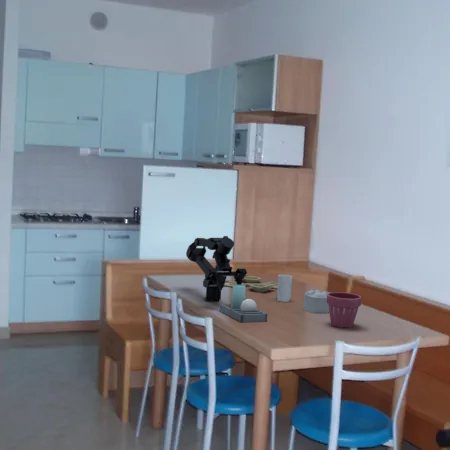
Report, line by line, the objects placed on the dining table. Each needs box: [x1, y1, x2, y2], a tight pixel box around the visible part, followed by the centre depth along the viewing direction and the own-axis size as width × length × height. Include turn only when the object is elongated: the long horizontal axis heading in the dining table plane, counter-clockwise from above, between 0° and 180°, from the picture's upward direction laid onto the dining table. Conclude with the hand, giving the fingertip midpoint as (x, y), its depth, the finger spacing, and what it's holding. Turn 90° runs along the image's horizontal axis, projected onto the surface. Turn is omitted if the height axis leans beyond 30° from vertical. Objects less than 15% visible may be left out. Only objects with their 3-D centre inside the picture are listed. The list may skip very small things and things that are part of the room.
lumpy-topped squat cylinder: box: [303, 289, 329, 314], centre depth 320 cm, size 10×13×9 cm
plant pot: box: [327, 291, 362, 328], centre depth 293 cm, size 14×14×13 cm
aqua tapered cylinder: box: [230, 284, 247, 309], centre depth 302 cm, size 6×6×12 cm
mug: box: [276, 274, 293, 303], centre depth 338 cm, size 10×7×12 cm, turn 15°
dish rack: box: [219, 303, 268, 323], centre depth 298 cm, size 21×12×3 cm, turn 25°
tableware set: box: [224, 273, 278, 293], centre depth 369 cm, size 35×29×4 cm
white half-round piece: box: [240, 298, 258, 311], centre depth 297 cm, size 1×7×7 cm, turn 116°
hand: (230, 289), depth 309 cm, fingers open, 9 cm apart
